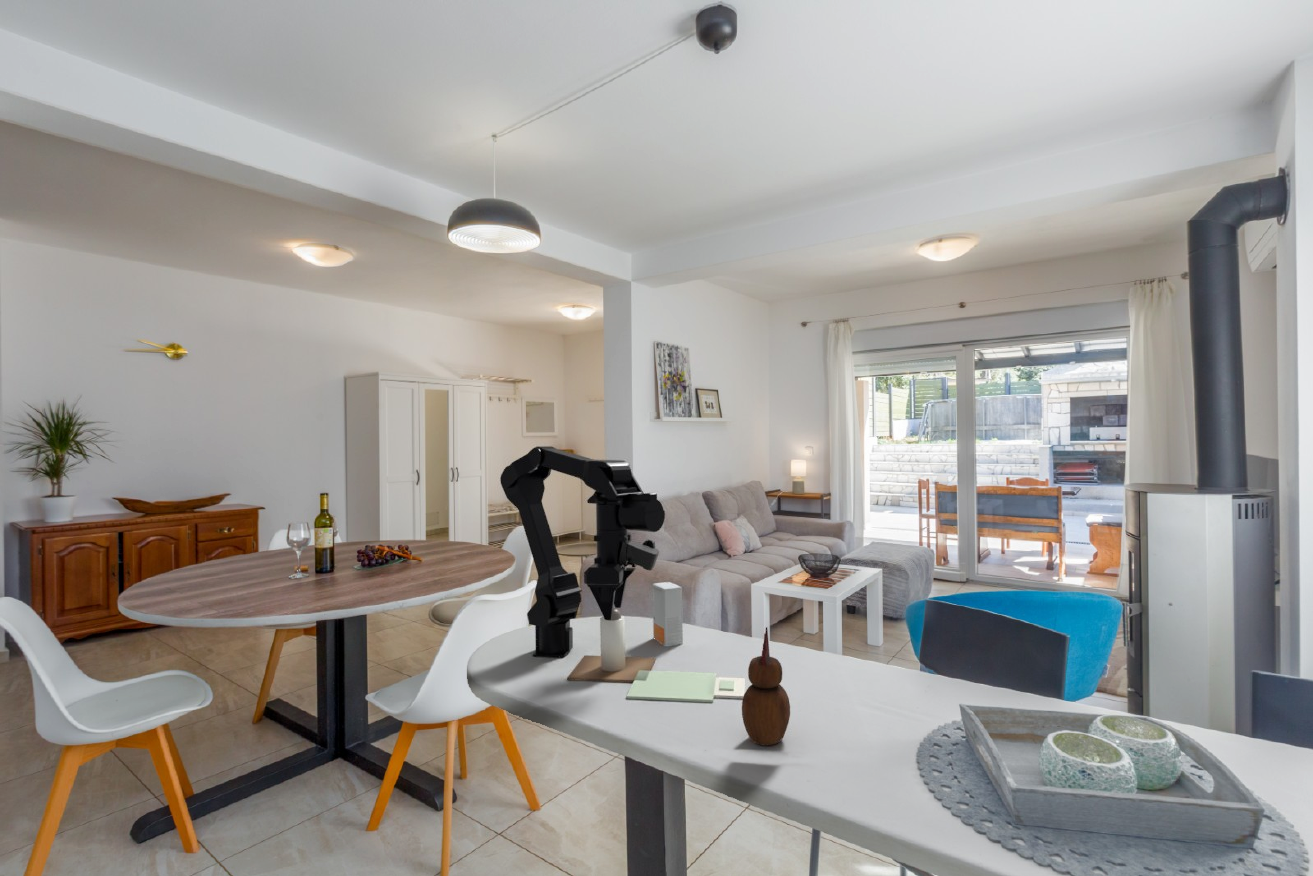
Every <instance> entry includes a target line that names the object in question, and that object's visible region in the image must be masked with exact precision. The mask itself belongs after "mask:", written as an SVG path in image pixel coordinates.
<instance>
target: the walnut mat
mask: <svg viewBox="0 0 1313 876" xmlns="http://www.w3.org/2000/svg"><path fill="white" fill-rule="evenodd" d="M655 660H657V659H656V657H642V656H641V657H639V656H625V663H626V667H625V669H623V670H620V671H615V672H609V671H604V670H602V669H601V655H587V654H585V655H583V657H582V658H581V659H580V661H578V663H577V664H576V665H575V667H574V669H573V670H572V671H571V672H570V673H569V674H568V676H567V677H566V679H567V681H585V682H586V681H588V682H589V681H590V682H610V683H632V684H633V682H634V680H635V679H636V680H637V679H639V680H640V681H641V680H643V679H642V678H644V679H645V681H646V676H644V675H646V670H647V671H653V667H654V666H655V665H654V664H655V662H656V661H655ZM639 670H640V672H641V674H642V671H643V670H645V672H643V673H644V675H643V677H642V675H641V674H640V676H641V677H642V678H640V677H639V678H636V677H638V675H637V674H638V672H639ZM648 673H649V672H648ZM647 677H648V676H647ZM643 681H644V680H643Z"/></svg>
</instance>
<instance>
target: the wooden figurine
mask: <svg viewBox="0 0 1313 876" xmlns="http://www.w3.org/2000/svg"><path fill="white" fill-rule="evenodd" d="M768 632H769V629H768V627H767V626H766V627H765V633H763V634H764V635H763V644H762V651H761V655H759V656H755V657H753V658H751V660H750V661H749V664H748V670H747V676H748V680H749V682H750V683H751V685H749V686H748V687H747V689H746V690H745V694H744V697H743V699H742V702H741V716H742V723H743V726H744V728H745V731H746V733H747V735H748V737H749V739H750V740H751V742H753V743H755V744H757V745H761V746H772V745H776V744H777V743H779V742H780V741H782V740H783V738H785V737H784V736H785V735H786V731H787V729H788V726H789V721H790V717H791V703H790V698H789V696H788V693H787V691H786V690H785V688H784V687H783V686H782V685H781V682H782V680H783V667H782V663H781V662H780V661H779V660H778V659H777V658H776V657H773V656H771V655H770V645H769V643H770V642H769V633H768Z"/></svg>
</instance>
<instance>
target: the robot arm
mask: <svg viewBox="0 0 1313 876" xmlns="http://www.w3.org/2000/svg"><path fill="white" fill-rule="evenodd" d="M552 471H555V472H558V473H562V474H565V475H568V476H571V477H574V478H577V479H580V480H582V481H583V483H584V484H585V486H586V487H589V489H592V490H593V491H594V492H593V494H592V495H590V497H588V499H587V500H586V502H587V503H588V504H595V508H596V509H595V510H596V511H595V515H596V520H595V521H596V525H595V526H596V534H594V535H593V542H596V557H594V558H593V561H594V562H593V564H591V565H590V566H589V567H587V569H586V570H585V571H584V572H583V582H584V584H585V585H586V586H587V587H588V588H589V591H591V594H592V596H593V598H594V599H595V601H596V604H597V605H598V608H599V609H600V613H601V614H602V617H603V616H604V619H605V620H611V618H612V612H613V608H615V609H621V608H622V606H623V605H622V604H623V599H624V594H625V590H626V585H627V581H628V578H629V577H630V576H631V574H633V573H634V572H635V570H637V569H636V568H637V566H639V567H640V568H643V569H644V570H646V571H652V570H653V569H654V568H655V565H656V562H657V560H658V557H659V554H660V550H659V549H658V548H656V543H655V541H654V540H652V539H650V538H647V539H646V540H645V541H644V542H643V543H641V542H636V541H633V540H632V534H631V533H630V532H629V531H636V532H637V531H638V532H648V533H649V532H650V533H657V532H658V531H660V530H661V528H662V527H663V525H664V522H665V516H666V512H665V510H664V506H663V505H662V503H661V502H660V500H658V493H657V492H647V493H644V491H643V490H642V488H641V486H640V483H638V481H637V479H636V477H635V476H634V474H633V472H632V469H631V466H630V464H629V463H628V462H627V461H625V460H624V459H623V460H622V459H595V458H590V457H586V456H582V455H579V454H575V453H573V452H569V451H565V450H562V449H557V447H554V446H552V445H551V446H547V445H546V446H545V445H544V446H543V445H542V446H541V445H540V446H535V447H533V448H532V449H530V450H529V451H528V453H527V454H525V455H522V456H521V457H519V458H517V459H516V460H514V461H513V462H511V463H510V464H509V465H507V466H506V467H504V469H503V471H502V473H501V474H500V480H499V481H500V485H501V487H502V490H503V492H504V495H505V497H506V499H507V500H508V501H509V502H510V503H512V505H513V506H514V507H515V508H517V510H518V513H519V517H520V520H521V522H522V526H523V529H524V533H525V536H526V539H527V542H528V545H529V548H530V549H529V550H530V554H531V556H532V559H533V563H534V566H535V569H536V572H537V573H536V574H537V580H536V583H535V584H536V585H535V589H534V593H535V594H534V595H535V599H536V601H535V603H533V605H532V607H531V608H530V609H529V610H528V612H527V613H526V616H527V620H528V624H529V625H531V626H535V627H534V628H535V631H534V634H535V635H534V636H535V651H534V652H533V653H532V657H536V658H537V657H542V658H544V657H545V658H565V657H566V656H567V655H568V654H569V653H570V652H571V650H572V649H573V648H574V647H573V646H574V642H573V641H574V640H573V637H574V636H573V635H574V634H573V631H574V629H573V626H571V620H572V619H573V620H574V619H576V618H577V615H578V612H579V611H578V610H579V608H580V604H581V603H582V594H581V592H583V590H582V588H581V586H580V585H579V582H578V581H579V580H578V576H577V575H576V573H575V572H574V571H572V572H569V573H568V571H566V569H565V568H564V567H563V565H562V561H561V560H560V556H559V553H558V549H557V546H556V544H555V540H554V536H553V533H552V531H551V527H550V524H549V521H548V517H547V515H546V512H545V508H544V504H543V498H544V493H545V489H546V488H545V482H544V481H545V480H547V478H549V477H550V476H551V472H552ZM629 566H631V567H629Z"/></svg>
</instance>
